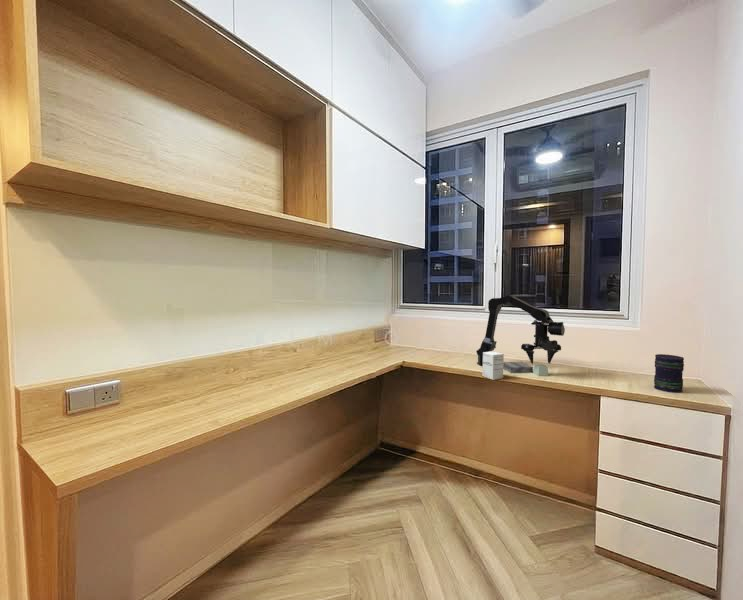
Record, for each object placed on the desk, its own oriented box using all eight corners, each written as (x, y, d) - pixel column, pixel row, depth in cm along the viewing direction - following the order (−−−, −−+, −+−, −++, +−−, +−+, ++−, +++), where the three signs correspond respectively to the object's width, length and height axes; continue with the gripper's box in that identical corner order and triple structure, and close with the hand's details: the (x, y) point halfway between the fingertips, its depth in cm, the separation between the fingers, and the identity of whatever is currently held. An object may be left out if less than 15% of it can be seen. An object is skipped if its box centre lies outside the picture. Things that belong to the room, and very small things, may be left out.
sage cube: (538, 376, 174) (538, 366, 174) (533, 373, 179) (533, 364, 179) (547, 376, 175) (548, 366, 175) (542, 373, 180) (542, 364, 180)
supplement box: (481, 376, 174) (482, 352, 174) (492, 374, 177) (493, 350, 177) (492, 380, 168) (493, 354, 167) (503, 378, 171) (504, 353, 170)
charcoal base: (510, 373, 180) (511, 367, 180) (500, 367, 192) (501, 362, 192) (532, 372, 181) (532, 367, 181) (521, 367, 193) (521, 361, 193)
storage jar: (669, 386, 157) (671, 354, 156) (689, 393, 147) (690, 359, 146) (647, 386, 157) (649, 354, 156) (665, 392, 147) (667, 359, 146)
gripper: (532, 336, 167) (531, 367, 168) (568, 336, 169) (567, 366, 169) (520, 333, 179) (520, 362, 179) (554, 332, 180) (554, 361, 181)
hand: (540, 363), depth 177 cm, fingers open, 9 cm apart
